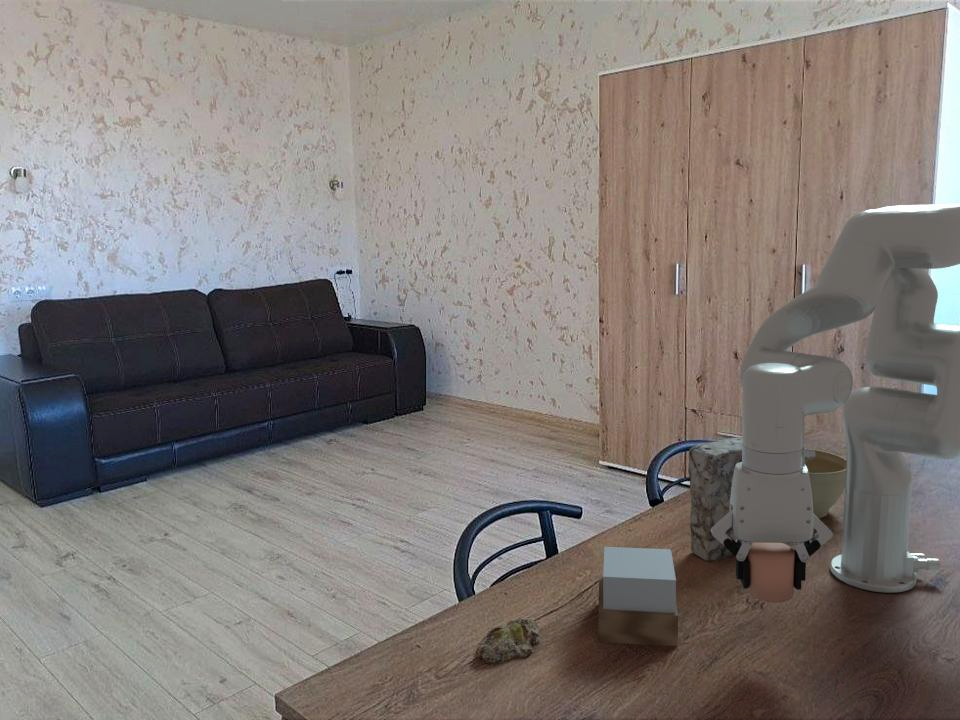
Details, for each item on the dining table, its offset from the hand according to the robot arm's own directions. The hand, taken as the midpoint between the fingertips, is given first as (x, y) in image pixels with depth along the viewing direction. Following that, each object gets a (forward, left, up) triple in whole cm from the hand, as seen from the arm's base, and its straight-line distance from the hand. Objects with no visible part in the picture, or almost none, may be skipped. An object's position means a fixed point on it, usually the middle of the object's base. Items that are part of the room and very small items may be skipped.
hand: (769, 583), depth 103 cm
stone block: (+1, -32, -10) cm, 34 cm away
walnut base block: (+18, -6, -10) cm, 21 cm away
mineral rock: (+36, +2, -11) cm, 38 cm away
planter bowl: (-17, -52, -10) cm, 56 cm away
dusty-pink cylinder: (0, 0, -1) cm, 1 cm away
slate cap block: (+17, -6, -5) cm, 19 cm away
